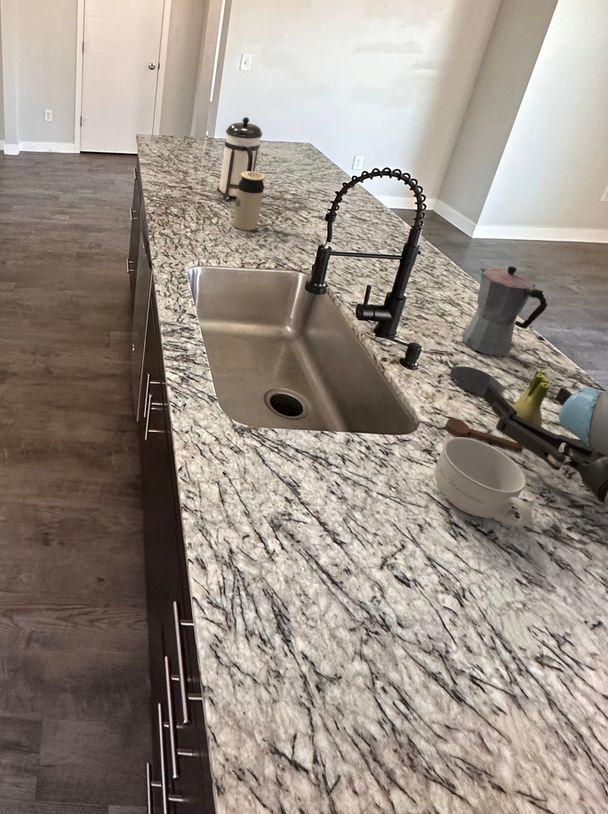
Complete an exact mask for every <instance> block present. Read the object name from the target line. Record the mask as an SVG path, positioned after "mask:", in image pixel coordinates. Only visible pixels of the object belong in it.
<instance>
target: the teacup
mask: <svg viewBox="0 0 608 814" xmlns="http://www.w3.org/2000/svg"><path fill="white" fill-rule="evenodd" d="M434 479H435V483H436V486H437V487H438V489H439V490H440V492H441V494H442V495H444V497H445V498H446V499H447V501H449V502H450V504H452V505H453V506H454V507H456V508H457V509H458V510H460V511H462V512H464V513H466V514H468V515H471V516H475V517H480V518H486V519H494V520H495V521H497V522H503V523H505V524H508V525H510V526H513V527H517V528H522V527H523V528H524V527H526V526H528V525H530V524H531V522H532V518H533V515H532V511H531V509H530V507H529V505H528V504H527V503H526V501H524V500H523V499H521V498H519V496H520V494H521V492H523V490H524V489H525V488H526V486H527V480H526V479H527V478H526V476H525V474H524V472H523V470H522V469H521V468H520V466H519V465H518V464H517V463H516V462H515V461H514V460H513V459H512V458H511V457H509V456H508V455H507V454H505V453H504V452H502V451H500V450H499V449H497V448H496V447H494V446H492V445H490V444H488V443H487V442H484V441H482V440H479V439H475V438H471V437H470V438H469V437H466V438H463V437H456V436H454V437H451V438H449V439H447V440H445V442H444V443H443V446H442V449H441V452H440V454H439V457H438V459H437V462H436V465H435V467H434ZM514 506H515V507H516V508H517V509H518V511H519V518H518V519H517V518H514V517H512V516H510V515H508V514H507V513H508V512H510V510H511V508H512V507H514Z"/></svg>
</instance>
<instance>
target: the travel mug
mask: <svg viewBox="0 0 608 814" xmlns="http://www.w3.org/2000/svg"><path fill="white" fill-rule="evenodd" d="M241 176H242V179H241V181H240V182H239V186H238V192H237V197H236V200H235V206H234V210H233V211H234V212H233V218H232V226H233V227H235V228H236V229H239V230H241V231H254V230H256V229H257V228H258V225H259V218H260V213H261V208H262V207H261V206H262V202H263V197H264V191H265V184H264V180H265V179H266V176H265V174H263V173H261V172H258V171H255V172H251V171H247V172H243V173H241Z"/></svg>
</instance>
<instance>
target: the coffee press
mask: <svg viewBox="0 0 608 814" xmlns="http://www.w3.org/2000/svg"><path fill="white" fill-rule="evenodd" d="M225 134H226V136H225V140H224V151H223V157H222V165H221V173H220V179H219V180H220V181H219V186H217V187H216V191H217V192H221V193H222V194H223V197H222V199H223V200H224V201H228V200H229V198H230V197H236V198H237V192H238V186H239V182H240V181H241V179H242V176H241V173H243V172H247V171H251V172H256V167H257V161H258V155H259V150H260V146H261V139H262V136H263V132H262V130H261V128H260V127H259V126H258V125H256V124H253V123H250V119H249V117H247V116H245V117H243V118H242V122H234V123H231V124H230V125H229V126H228V127H227V128H226V130H225Z"/></svg>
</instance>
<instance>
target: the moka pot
mask: <svg viewBox="0 0 608 814" xmlns="http://www.w3.org/2000/svg"><path fill="white" fill-rule="evenodd" d="M479 269H480V270H481V277H480V283H479V289H478V294H477V300H476V303H477V308H476V311H475V313H474V314H473V316H472V318H471V320H470V322H469V324H468V326H467V328H466V329H465V332H464V333H463V335H462V341H463V343H464V344H465V345H466V346H467V347H470V348H471V349H473V350H474V351H476V352H479V353H482V354H485V355H489V356H494V357H505V356H507V355H509V353H510V351H511V347H512V339H513V335H514V328H515V326H516V327H519V328H521V329H525V330H527V328H528V327H530V325H532V324H533V322H534V321H535V320H536V319H537V318H538V317H539V316H540V315H541V314H542V313H544V312H545V310H546V309H547V307H548V303H547V299H546V297H545V295H544V294H543V293H544V291H543V290H541V289H537V288H536V283H535V282H534V281H532V280H530V279H529V278H528V277H526V276H525V275H522V274H518V273H516V272H517V270H518V269H517V268H516V267H515V266H511V265H510V266H508V267H507V270H506V269H497V268H494V267H492V266H491V267H490V266H487V267H480V268H479ZM529 298H533V299H537V300H539V302H540V304H539V305H538V306H537V307H536V308H535V309H534V310H533V312H532V313H531V314H530V315H529V316H528V317H527V319H526V320H524V321H523V322H520V321H519V320H517V317H518V316H519V314H521V312H522V311H523V308H524V307H525V305H526V304H527V303H528V300H529Z"/></svg>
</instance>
